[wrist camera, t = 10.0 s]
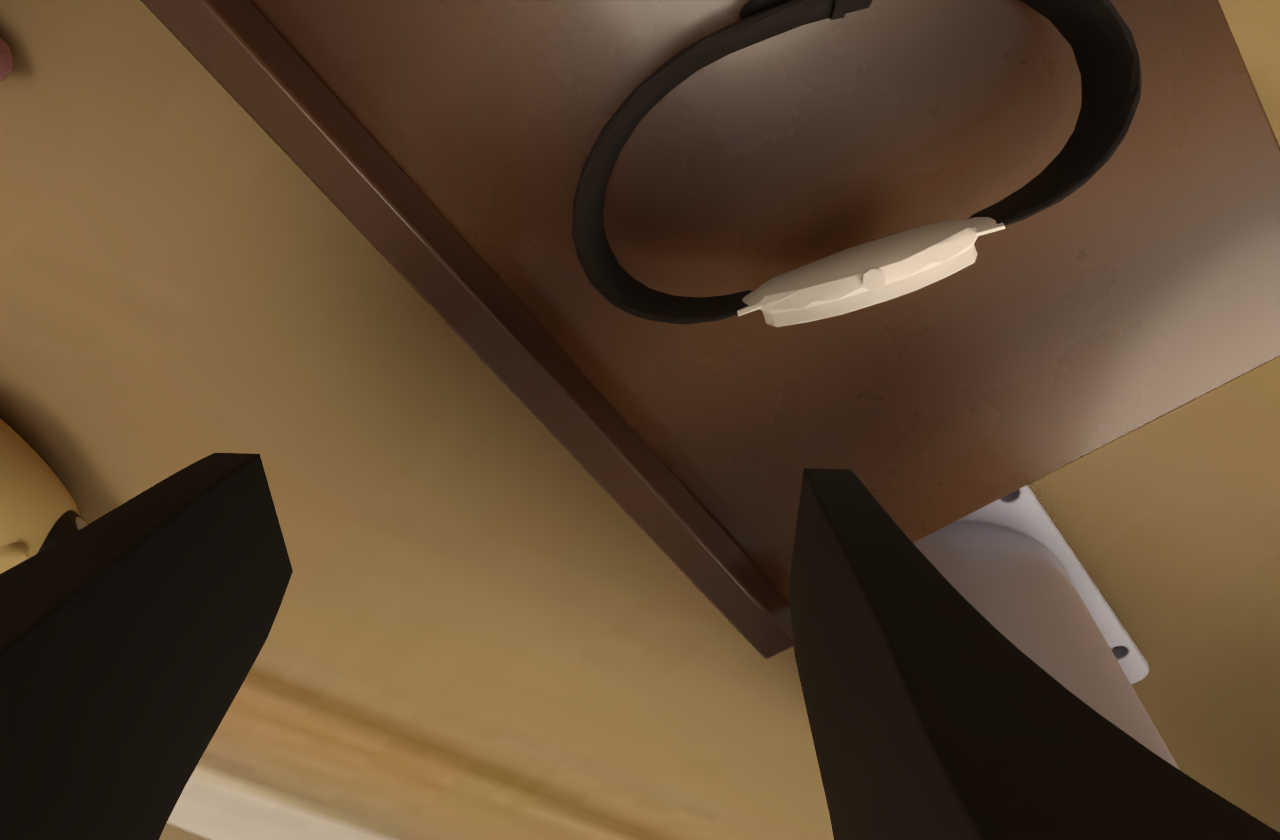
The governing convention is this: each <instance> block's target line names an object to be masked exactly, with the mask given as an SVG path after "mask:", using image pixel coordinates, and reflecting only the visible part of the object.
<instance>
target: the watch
mask: <svg viewBox="0 0 1280 840" xmlns="http://www.w3.org/2000/svg"><path fill="white" fill-rule="evenodd" d="M1019 1H1021V2H1023V3H1025V4H1026V5H1028V6H1029V7H1031V8H1032V9H1034V10H1035V11H1037V12H1038V13H1040V14H1041V15H1042V16H1044V17H1045V18H1047V19H1048V20H1050V21H1051V23H1052V24H1053V25H1054V26H1055V27H1056V29H1057V30H1058V31H1059V32H1060V33H1061V34H1062V36H1063V37H1064V38H1065V39H1066V40H1067V42H1068V43H1069V44H1070V45H1071V47H1072V50H1073V53H1074V56H1075V59H1076V62H1077V65H1078V68H1079V71H1080V74H1081V91H1082V102H1081V110H1080V113H1079V116H1078V119H1077V122H1076V126H1075V129H1074V131H1073V133H1072V135H1071V136H1070V138H1069V139H1068V141H1067V143H1066V144H1065V146H1064V147H1063V149H1062V151H1061V152H1060V153H1059V154H1058V155H1057V156H1056V157H1055V158H1054V159H1053V160H1052V161H1051V163H1050V164H1049V165H1048V166H1047V167H1046V168H1045V169H1044V170H1043V171H1042V172H1041V173H1040V174H1039V175H1037V176H1036V177H1035V178H1033V179H1032V180H1031V181H1030V182H1028V183H1027V184H1026V185H1025V186H1023V187H1022V188H1020V189H1019V190H1017V191H1015V192H1014V193H1012V194H1011V195H1009V196H1007V197H1006V198H1004V199H1003V200H1001V201H999V202H998V203H996V204H993V205H991V206H989V207H987V208H985V209H983V210H981V211H979V212H977V213H975V214H973V215H972V216H971V217H970V218H969V219H968V220H957V221H944V222H940V223H936V224H931V225H927V226H923V227H919V228H915V229H911V230H907V231H904V232H901V233H897V234H894V235H891V236H887V237H884V238H881V239H877V240H874V241H871V242H867V243H864V244H861V245H858V246H854V247H851V248H848V249H845V250H843V251H840V252H838V253H835V254H833V255H830V256H827V257H825V258H822V259H820V260H817V261H815V262H812V263H810V264H807V265H805V266H802V267H800V268H797V269H795V270H792V271H789V272H787V273H784V274H782V275H779V276H777V277H774V278H772V279H770V280H769V281H767V282H765V283H763V284H762V285H761V286H760V287H759V288H757V289H756V290H755V291H754V292H752V291H750V290H747V291H742V292H738V293H733V294H728V295H723V296H711V297H686V296H674V295H670V294H667V293H664V292H660V291H657V290H653V289H650V288H649V287H647V286H645V285H644V284H642V283H641V282H639V281H637V280H636V279H634V278H633V277H632V276H631V275H630V274H629V273H628V272H627V271H626V270H625V269H624V268H623V267H622V266H621V265H620V264H619V262H618V261H617V259H616V257H615V255H614V254H613V252H612V250H611V247H610V245H609V242H608V240H607V237H606V233H605V228H604V215H603V210H604V203H605V197H606V191H607V184H608V181H609V178H610V176H611V173H612V171H613V168H614V166H615V163H616V161H617V158H618V156H619V153H620V151H621V150H622V148H623V146H624V145H625V143H626V142H627V140H628V139H629V137H630V136H631V134H632V133H633V131H634V130H635V128H636V127H637V125H638V124H639V122H640V121H641V120H642V119H643V118H644V117H645V115H646V114H647V113H648V112H649V111H650V110H651V109H652V108H653V107H654V106H655V105H656V104H657V103H658V102H659V101H660V100H661V99H662V98H664V97H665V96H666V95H667V94H668V93H669V92H670V91H671V90H673V89H674V88H675V87H676V86H678V85H679V84H680V83H682V82H683V81H684V80H686V79H687V78H688V77H690V76H691V75H692V74H694V73H695V72H696V71H698V70H700V69H702V68H704V67H706V66H708V65H709V64H711V63H713V62H715V61H717V60H719V59H721V58H723V57H725V56H727V55H729V54H731V53H733V52H736V51H738V50H741V49H743V48H746V47H748V46H751V45H754V44H756V43H759V42H761V41H764V40H766V39H769V38H771V37H774V36H776V35H779V34H782V33H784V32H787V31H789V30H792V29H794V28H797V27H799V26H802V25H805V24H809V23H813V22H817V21H820V20H824V19H828V18H830V19H831V20H834V19H840V18H844V16H845V14H847V13H850V12H854V11H858V10H861V9H865V8H869V6H870V4H871V2H872V0H750V1H749V2H747V3H745V4H744V6H743V8H742V10H741V11H740V13H739V16H740V18H741V20H739V21H737V22H735V23H733V24H731V25H729V26H726V27H724V28H722V29H720V30H718V31H716V32H714V33H712V34H710V35H708V36H706V37H704V38H702V39H700V40H699V41H697V42H696V43H694V44H692V45H691V46H689V47H687V48H686V49H684V50H682V51H681V52H679V53H677V54H676V55H674V56H673V57H672V58H670V59H669V60H668V61H667V62H666V63H665V64H663V65H662V66H661V67H660V68H659V69H658V70H656V71H655V72H654V73H653V74H652V75H651V76H650V77H648V78H647V79H646V80H645V81H644V82H643V83H641V84H640V85H639V86H638V87H637V88H636V89H635V90H633V91H632V93H631V94H630V95H629V96H628V98H627V99H626V100H625V101H624V103H623V104H622V105H621V106H620V108H619V109H618V110H617V111H616V112H615V114H614V115H613V116H612V117H611V119H610V120H609V121H608V122H607V124H606V125H605V126H604V127H603V129H602V131H601V133H600V135H599V137H598V138H597V140H596V142H595V144H594V146H593V148H592V150H591V152H590V153H589V155H588V157H587V159H586V161H585V163H584V165H583V168H582V172H581V175H580V179H579V182H578V186H577V189H576V193H575V196H574V199H573V218H572V237H573V241H574V245H575V249H576V253H577V257H578V261H579V263H580V265H581V267H582V269H583V271H584V273H585V274H586V276H587V278H588V280H589V282H590V283H591V284H592V286H593V287H594V288H595V289H596V290H597V291H598V292H599V293H600V294H601V295H602V296H603V297H604V298H605V299H607V300H608V301H609V302H610V303H611V304H612V305H614V306H616V307H618V308H620V309H621V310H623V311H625V312H627V313H629V314H631V315H633V316H636V317H640V318H643V319H647V320H651V321H656V322H665V323H673V324H681V325H684V324H694V323H704V322H714V321H719V320H722V319H726V318H729V317H732V316H736V315H738V316H741V315H744V314H747V313H750V312H753V311H755V310H758V309H759V310H761V311H762V312H763V315H764V318H765V321H766V324H769V325H772V326H775V327H782V326H788V325H794V324H800V323H806V322H811V321H815V320H820V319H825V318H829V317H834V316H838V315H842V314H846V313H849V312H852V311H855V310H859V309H862V308H865V307H868V306H872V305H875V304H878V303H882V302H885V301H888V300H891V299H894V298H897V297H899V296H902V295H905V294H908V293H911V292H914V291H916V290H918V289H921V288H923V287H925V286H928V285H930V284H932V283H935V282H937V281H939V280H941V279H944V278H946V277H948V276H950V275H952V274H954V273H956V272H958V271H960V270H962V269H964V268H965V267H967V266H969V265H971V264H973V263H975V260H976V257H977V255H978V254H977V251H976V249H975V246H974V243H975V241H976V239H977V238H978V236H981V235H985V234H988V233H992V232H996V231H999V230H1003V229H1006V228H1005V226H1008V225H1011V224H1013V223H1016V222H1019V221H1021V220H1024V219H1026V218H1028V217H1030V216H1032V215H1034V214H1036V213H1038V212H1040V211H1042V210H1044V209H1046V208H1049V207H1051V206H1053V205H1055V204H1057V203H1059V202H1060V201H1062V200H1063V199H1065V198H1066V197H1067V196H1069V195H1070V194H1072V193H1073V192H1074V191H1076V190H1077V189H1079V188H1080V187H1081V186H1083V185H1084V184H1085V183H1086V182H1087V181H1088V180H1089V179H1090V178H1091V177H1092V176H1093V175H1094V174H1095V173H1096V172H1097V171H1098V170H1099V169H1101V168H1102V167H1103V166H1104V165H1105V164H1106V163H1107V162H1108V161H1109V159H1110V158H1111V157H1112V155H1113V154H1114V152H1115V151H1116V150H1117V148H1118V147H1119V145H1120V144H1121V143H1122V141H1123V139H1124V138H1125V136H1126V134H1127V132H1128V130H1129V127H1130V125H1131V123H1132V120H1133V118H1134V115H1135V112H1136V110H1137V107H1138V104H1139V101H1140V98H1141V85H1142V76H1141V67H1140V59H1139V54H1138V51H1137V48H1136V44H1135V41H1134V38H1133V35H1132V32H1131V30H1130V29H1129V27H1128V26H1127V24H1126V23H1125V22H1124V20H1123V19H1122V17H1121V16H1120V14H1119V13H1118V11H1117V10H1116V8H1115V7H1114V5H1113V4H1112V3H1111V2H1110V1H1109V0H1019Z"/></svg>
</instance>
